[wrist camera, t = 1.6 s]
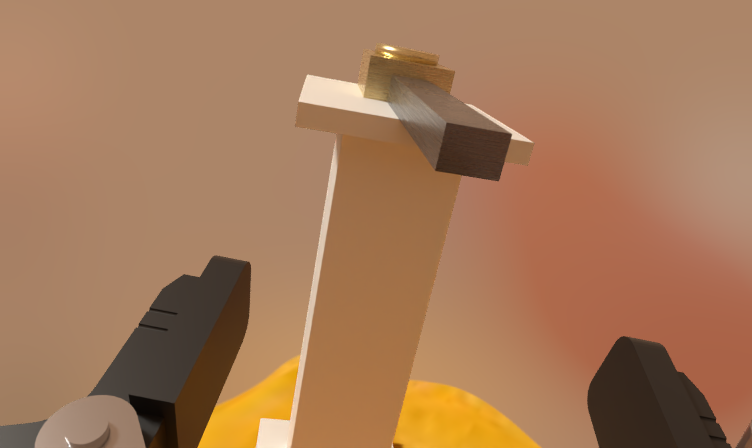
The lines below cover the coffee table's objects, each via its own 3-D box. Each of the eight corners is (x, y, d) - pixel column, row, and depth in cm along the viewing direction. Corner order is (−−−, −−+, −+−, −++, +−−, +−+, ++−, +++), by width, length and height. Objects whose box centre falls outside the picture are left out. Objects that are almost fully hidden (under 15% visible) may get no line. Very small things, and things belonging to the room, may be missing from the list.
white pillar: (387, 441, 48) (472, 104, 37) (404, 567, 37) (534, 143, 26) (259, 431, 47) (307, 74, 35) (237, 561, 36) (298, 101, 24)
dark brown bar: (427, 97, 36) (436, 53, 35) (537, 187, 17) (566, 97, 16) (357, 84, 35) (365, 39, 34) (393, 164, 16) (412, 68, 15)
